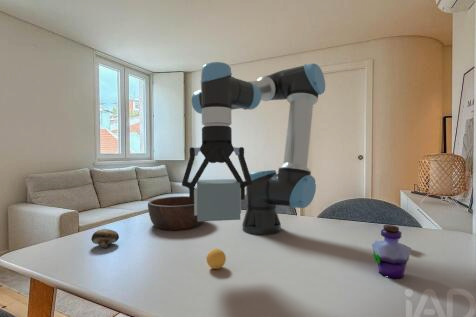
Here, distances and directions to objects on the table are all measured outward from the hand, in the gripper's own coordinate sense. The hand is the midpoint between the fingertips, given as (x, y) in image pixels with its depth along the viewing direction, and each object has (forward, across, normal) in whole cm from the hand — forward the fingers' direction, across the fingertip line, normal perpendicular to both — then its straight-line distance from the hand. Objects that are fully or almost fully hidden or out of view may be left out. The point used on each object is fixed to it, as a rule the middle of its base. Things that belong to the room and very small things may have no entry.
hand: (217, 213), depth 68 cm
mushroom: (+15, +35, -25) cm, 46 cm away
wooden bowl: (+15, +13, -49) cm, 53 cm away
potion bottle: (+15, -42, +9) cm, 45 cm away
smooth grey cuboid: (+1, 0, 0) cm, 1 cm away
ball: (+12, 0, -2) cm, 12 cm away
